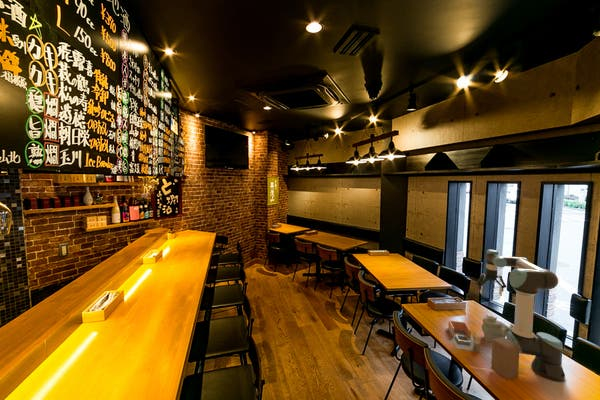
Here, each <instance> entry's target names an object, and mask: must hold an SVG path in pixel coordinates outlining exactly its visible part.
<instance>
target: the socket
mask: <svg viewBox="0 0 600 400" xmlns="http://www.w3.org/2000/svg"><path fill="white" fill-rule="evenodd" d="M455 338H456V340H457V342H458V343H461V344H468V345H471V342H470V340H469V339H468V337H467V336H463V335H457V334H455ZM459 338H462V339H466V340H467V341H464V340H459Z"/></svg>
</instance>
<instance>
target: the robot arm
mask: <svg viewBox="0 0 600 400" xmlns="http://www.w3.org/2000/svg"><path fill="white" fill-rule="evenodd" d="M485 256H486V259H485V260H486V261H485V262H486V264H485V267H486V268H485V273H480V277H479V278H478V280H477V281H476V282H475V283H476V285H478V290H479V293H480V295H483V285H484V284H485V283H486V282H488V281H492V282H496V283H497V284H498V285H499V286H498V287H499V288H498V290H499V292H498V295H499V296H500V297H502V296H503V292H504V289H505V288H507V284H506V283H505V282H504V279H503V276H502V275H501V274H498V269H499V268H505V267H508V268H509V267H511V268H512V267H513V268H514V269H512V270H511V272H510V273H509V278H508V281H509V285H510V286H511V287H512V289H513V290H514V291H515V292H516V293H515V304H514V305H515V307H514V309H515V311H514V324H513V325H514V327H512V328H511V332H507V334H506V337H505V338H506V339H508V340H510V341H512V342H513V343H515V344H517V345H519V347H520V349H519V354H520V355H522V354H523V355H528V356H534V358H533V360H532V361H531V364H530V367H531V369H532V371H533V372H534V373H535V374H538V375H539V376H540V377H543V378H545V379H546V380H548V381H549V380H550V381H554V382H561V383H562V382H564V381H565V380H566V374H565V372H564V368H563V364H562V362H563V350H564V349H563V342H562V341H561V340H560V339H558V337H555V336H553V335H551V334H549V333H546V332H542V331H539V332H536V334H535V333H534V332H533V326H534V324H533V323H534V309H535V308H534V307H535V296H536V295H538V294H539V291H540V290H541V291H549V290H552V289H555V288H556V287H557V285H558V284H559V277H558V276H557V274H556V273H554V272H553V271H552V270H549V269H546V268H541V267H539V266H537V265H536V264H534V263H531V262H530V261H529V259H528V258H526V257H523V256H505V255H504V256H503V255H499V251H498V250H495V249H487V250H486V255H485ZM499 280H500V281H499Z"/></svg>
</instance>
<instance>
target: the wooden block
mask: <svg viewBox="0 0 600 400" xmlns="http://www.w3.org/2000/svg"><path fill="white" fill-rule="evenodd" d="M491 344H492V345H491V364H490V365H491V367H490V368H491V369H492V371H493V372H495V373H497V374H498V375H499V376H501V377H502V378H504V379H505V380H510V379H513V378H517V377H518V376H519V368H520V367H519V365H520V364H519V363H520V353H519V349H520V347H519V345H517V344H515V343H513V342H512V341H510V340H508V339H507V337H505V338H504V337H502V338H497V339H493V340H492V342H491Z"/></svg>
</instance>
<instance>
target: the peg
mask: <svg viewBox="0 0 600 400" xmlns="http://www.w3.org/2000/svg"><path fill="white" fill-rule="evenodd" d="M481 337H482V336H481V335H480V334H478V333H474V334H473V338H474V343H473V349H474V350H477V351H480V349H481ZM477 351H476V352H477Z"/></svg>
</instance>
